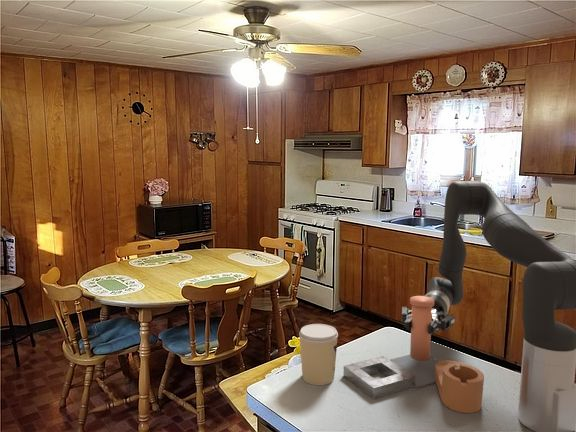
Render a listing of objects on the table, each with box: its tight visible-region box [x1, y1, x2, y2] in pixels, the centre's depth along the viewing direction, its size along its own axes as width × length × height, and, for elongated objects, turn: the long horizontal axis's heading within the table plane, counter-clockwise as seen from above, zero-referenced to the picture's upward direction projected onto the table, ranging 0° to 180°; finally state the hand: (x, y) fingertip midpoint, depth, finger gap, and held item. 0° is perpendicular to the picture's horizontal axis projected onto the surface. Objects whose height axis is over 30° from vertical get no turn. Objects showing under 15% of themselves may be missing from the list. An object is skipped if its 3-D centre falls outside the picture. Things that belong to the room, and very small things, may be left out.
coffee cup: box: [298, 323, 339, 386], centre depth 110 cm, size 9×9×12 cm
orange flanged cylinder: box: [409, 295, 434, 361], centre depth 114 cm, size 6×6×15 cm
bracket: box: [435, 359, 485, 414], centre depth 104 cm, size 18×8×7 cm, turn 170°
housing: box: [343, 355, 415, 399], centre depth 109 cm, size 12×12×2 cm
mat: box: [389, 354, 440, 389], centre depth 115 cm, size 14×14×1 cm
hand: (418, 328), depth 111 cm, fingers closed on orange flanged cylinder, 4 cm apart
